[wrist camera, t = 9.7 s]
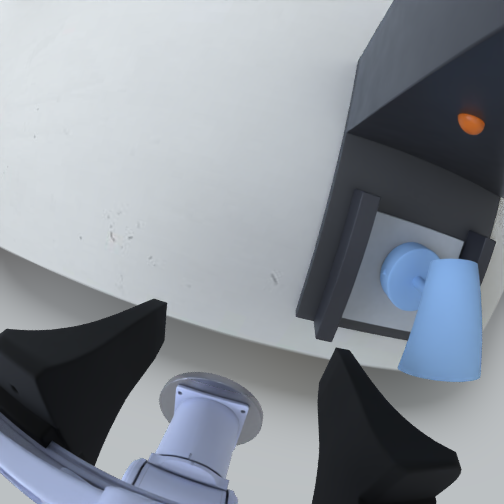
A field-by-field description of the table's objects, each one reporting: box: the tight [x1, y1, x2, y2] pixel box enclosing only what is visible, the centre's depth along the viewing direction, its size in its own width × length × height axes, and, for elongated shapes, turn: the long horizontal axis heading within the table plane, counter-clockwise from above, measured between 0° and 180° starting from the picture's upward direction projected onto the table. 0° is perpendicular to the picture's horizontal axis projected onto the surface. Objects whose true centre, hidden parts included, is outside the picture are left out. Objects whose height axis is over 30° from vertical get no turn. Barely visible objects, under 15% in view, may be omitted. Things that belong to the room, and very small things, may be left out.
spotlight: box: [380, 242, 482, 382], centre depth 14 cm, size 5×10×7 cm
